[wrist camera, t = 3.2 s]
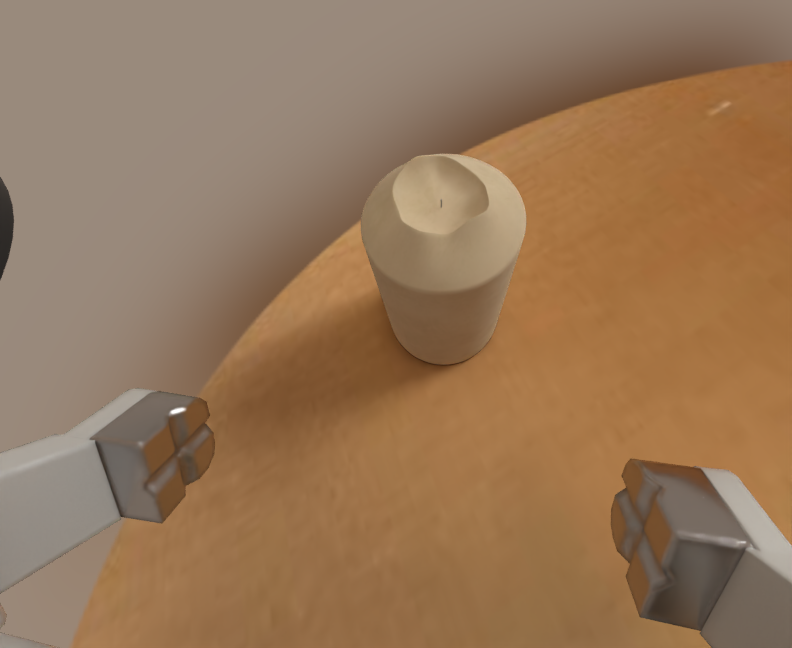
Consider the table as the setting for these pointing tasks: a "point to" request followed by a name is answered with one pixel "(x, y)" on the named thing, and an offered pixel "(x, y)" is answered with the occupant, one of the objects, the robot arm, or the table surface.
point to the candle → (443, 252)
